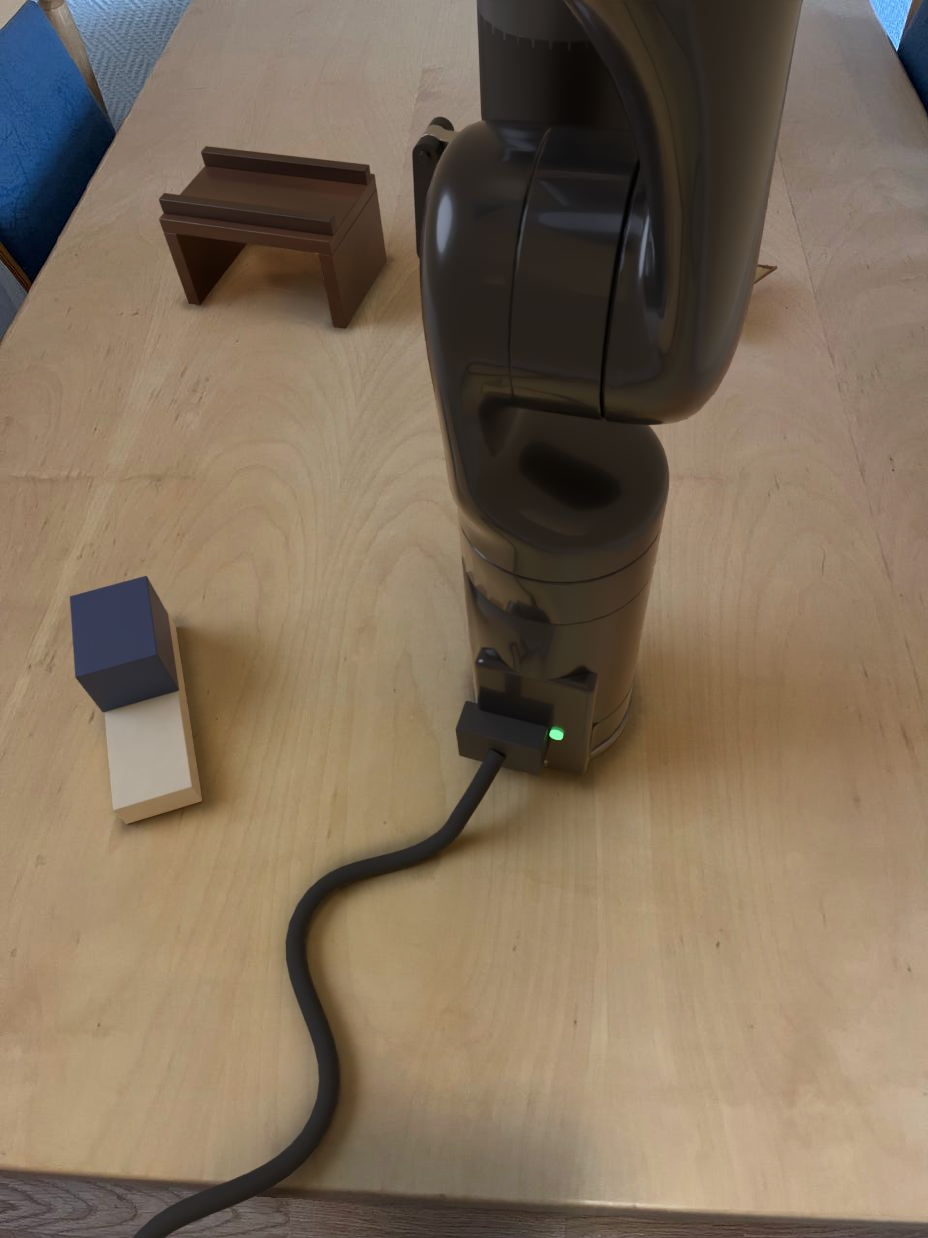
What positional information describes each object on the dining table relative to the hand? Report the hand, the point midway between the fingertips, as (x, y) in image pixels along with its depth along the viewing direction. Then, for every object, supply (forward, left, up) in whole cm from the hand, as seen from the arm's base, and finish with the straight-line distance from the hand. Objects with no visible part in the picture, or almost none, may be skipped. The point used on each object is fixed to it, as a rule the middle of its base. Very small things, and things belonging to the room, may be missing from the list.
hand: (561, 344), depth 47 cm
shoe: (-19, +20, -17) cm, 33 cm away
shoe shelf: (+24, +30, -17) cm, 42 cm away
